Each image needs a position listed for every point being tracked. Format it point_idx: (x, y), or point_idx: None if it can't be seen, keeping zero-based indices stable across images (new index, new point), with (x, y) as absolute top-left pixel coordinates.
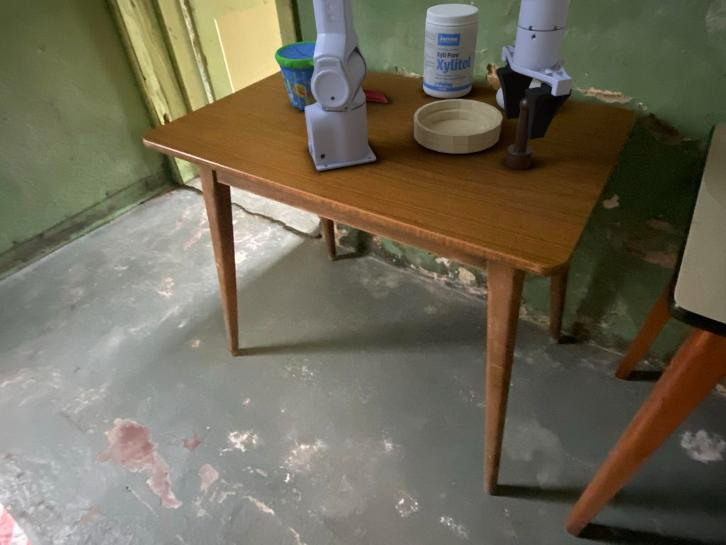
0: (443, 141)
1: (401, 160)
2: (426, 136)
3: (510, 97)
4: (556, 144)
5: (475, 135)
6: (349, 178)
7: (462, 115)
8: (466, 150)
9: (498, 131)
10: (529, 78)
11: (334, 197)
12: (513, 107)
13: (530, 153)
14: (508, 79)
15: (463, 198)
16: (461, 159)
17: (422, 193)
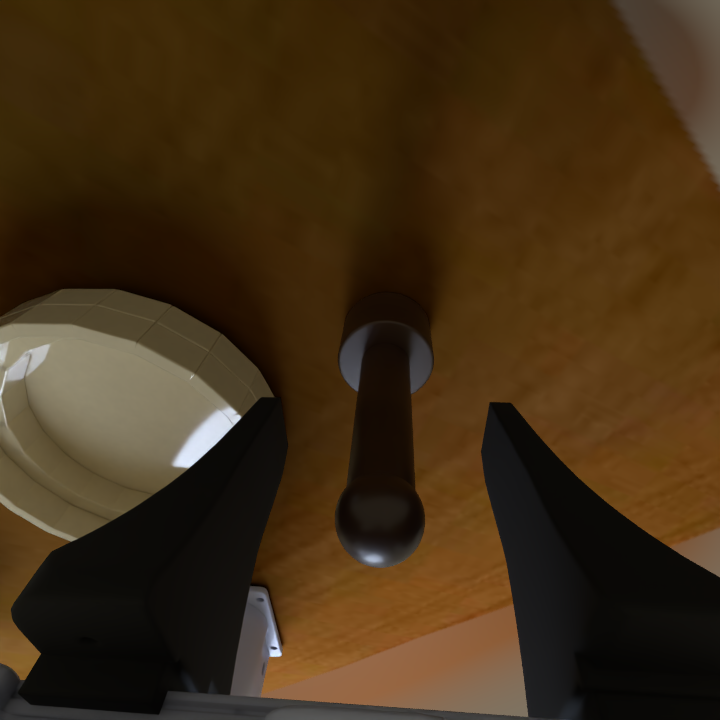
0: None
1: (270, 550)
2: None
3: (254, 530)
4: (274, 91)
5: None
6: (321, 624)
7: (15, 378)
8: None
9: (213, 362)
10: (200, 556)
11: (381, 648)
12: (269, 469)
13: (429, 343)
14: (228, 656)
15: None
16: (302, 451)
17: (432, 559)
